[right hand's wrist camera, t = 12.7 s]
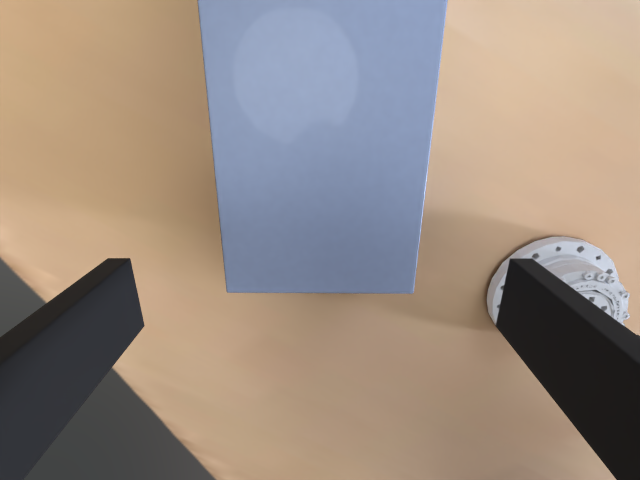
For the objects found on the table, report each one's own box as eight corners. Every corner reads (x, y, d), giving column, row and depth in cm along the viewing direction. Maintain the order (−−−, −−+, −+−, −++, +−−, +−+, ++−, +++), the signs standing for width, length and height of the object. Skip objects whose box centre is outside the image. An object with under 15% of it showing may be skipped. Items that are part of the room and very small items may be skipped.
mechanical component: (628, 248, 29) (513, 223, 28) (680, 273, 25) (547, 244, 24) (571, 347, 32) (467, 327, 31) (607, 383, 28) (490, 361, 27)
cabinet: (231, -70, 21) (179, -173, 13) (412, -68, 21) (468, -170, 13) (252, 240, 29) (226, 293, 21) (387, 240, 29) (413, 294, 21)
